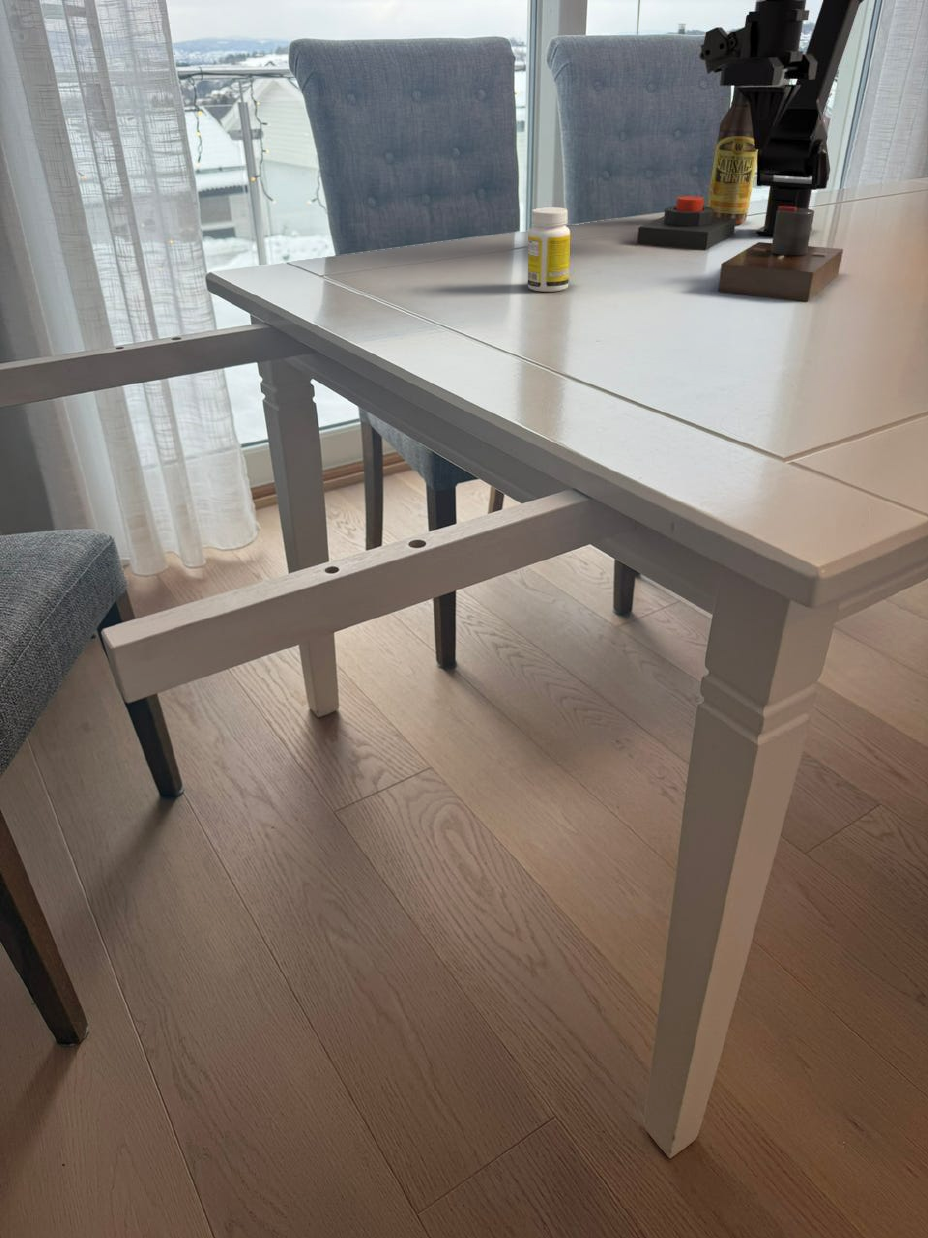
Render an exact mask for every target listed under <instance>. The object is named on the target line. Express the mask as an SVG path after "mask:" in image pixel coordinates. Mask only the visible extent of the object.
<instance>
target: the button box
mask: <svg viewBox="0 0 928 1238" xmlns="http://www.w3.org/2000/svg"><path fill="white" fill-rule="evenodd" d="M676 206H677V205H670V206H668V207H665V208H664V215H663V216H661V217H659V218H656V219H654V220H652V221H649V222H646V223H645V224H642V225H640V226H638V227H637V239H636V244H638V245H649V246H660V247H671V248H682V249H693V250H706V251H707V250H709V249H710V248H711V247H714V246H716V245H717V244H719V243H721V242H723V241H725V240H727V239H728V238H731V237H732V236H734V235H735V230H736V229H735V228H736V225H735V222H736V218H722V217H713V213H714V209H713V208H711V207H707V205H703V210H701V211H679V210H676Z"/></svg>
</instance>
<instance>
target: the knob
mask: <svg viewBox="0 0 928 1238" xmlns="http://www.w3.org/2000/svg"><path fill="white" fill-rule="evenodd" d="M814 216H815V210H814V209H811V208H809V209H807V208H796V207H787V206H779V207H778V210H777V215H776V222H775V228H774V235H772V242H771V243H772V248H771V252H772V253H774V254H777V255H784V256H799V255H804V254H807V250H808V246H810V240H811V239H810V238H811V233H812V231H811V228H812V229H813V221H814Z"/></svg>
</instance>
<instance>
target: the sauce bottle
mask: <svg viewBox="0 0 928 1238" xmlns="http://www.w3.org/2000/svg"><path fill="white" fill-rule="evenodd" d="M737 87H740V86H733V93H732V100H731V103H730V107H729V109H728V110H727V112H726V114H725V115H724V117H723V118H722V120H721V122H720V124H719V131H718V137H717V142H716V145H715V151H714V157H713V163H712V164H713V165H712V171H711V176H710V183H709V191H708V196H707V197H708V198H707V203H706V206H707V207H711V208H713V209H714V213H713V217H722V218H736V222H735V226H737V225H742V224H743V223H745V222H746V220H747V216H748V213H749V209H750V203H751V199H752V198H751V197H752V193H753V192H752V191H753V186H754V182H755V175H756V171H757V152H758V150H757V149H755V145H754V136H753V128H752V119H751V111H750V105H749V102H748V100H747V99H746V98H745V97H744V96H743V94H742V93H741V92H738V90H737Z"/></svg>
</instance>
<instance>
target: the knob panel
mask: <svg viewBox="0 0 928 1238" xmlns="http://www.w3.org/2000/svg"><path fill="white" fill-rule="evenodd" d="M771 248H772V242H764V241H758V242H755V243H754V244H753V245H751V246H749V247H747V248H746V249H744V250H743V251H741V252H739V253H737V254H736V255H734V256H732V257H731V258H729V259H727V260H726V261H724V262H722V263H721V264H720V273H719V281H718V290H717V291H718V292H719V293H727V294H737V295H738V294H739V295H746V296H754V297H755V296H756V297H765V298H773V299H774V298H775V299H782V300H783V299H784V300H791V301H800V302H809V301H810V300H811V299H812V298H814V297H815V296H816V295H817V294H818V293H820V291H822V290H824V288H826V287H827V285H829V284H830V283H831V282H833V280H834V279H836V278H837V277H838V276H839V273H840V268H841V262H842V257H843V254H844V253H843V252H844V248H838V247H837V248H836V247H827V246H825V247H824V246H814V245H813V246H811V245H808V250H807V254H804V255H799V256H784V255H777V254H774V253H772V252H771Z"/></svg>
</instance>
